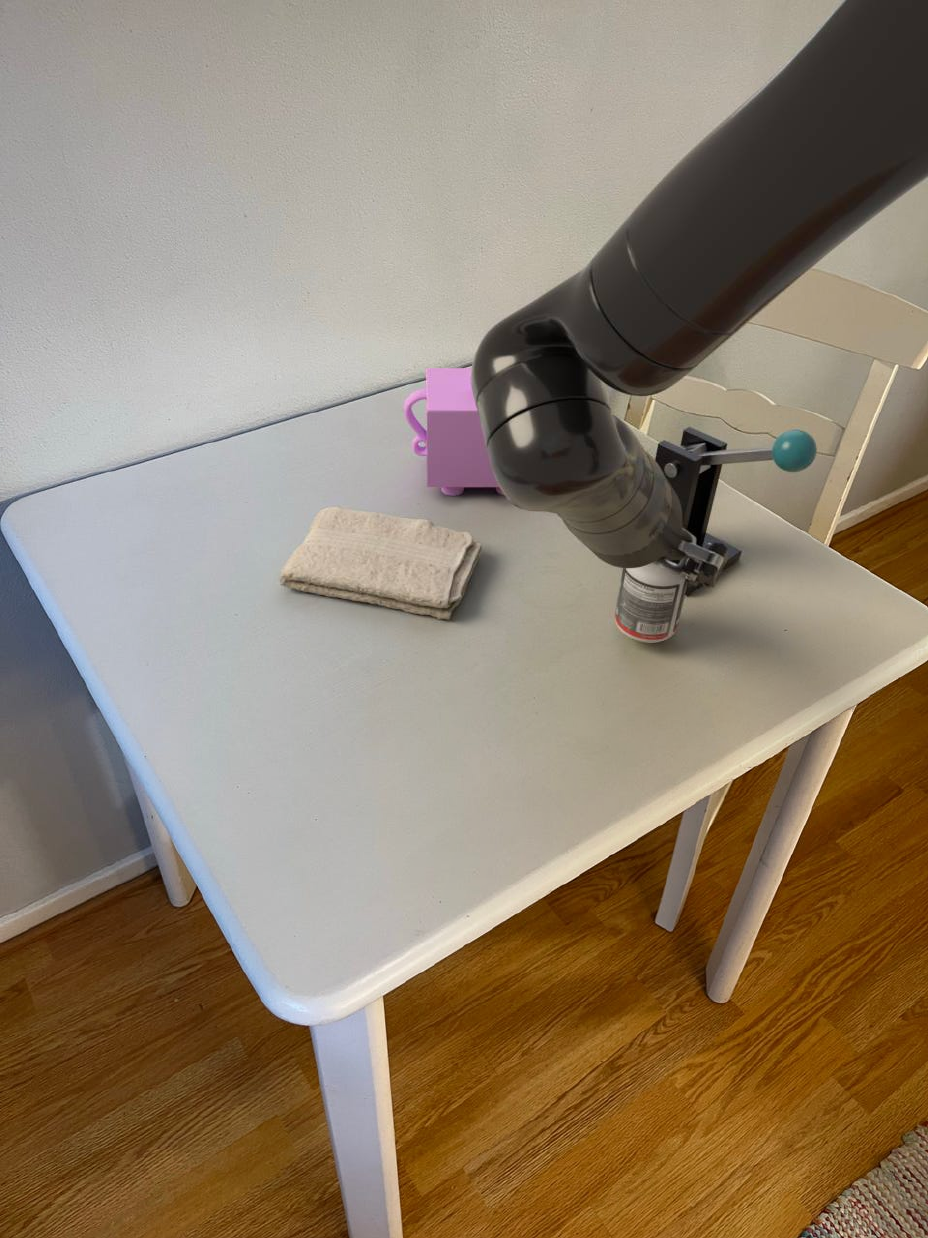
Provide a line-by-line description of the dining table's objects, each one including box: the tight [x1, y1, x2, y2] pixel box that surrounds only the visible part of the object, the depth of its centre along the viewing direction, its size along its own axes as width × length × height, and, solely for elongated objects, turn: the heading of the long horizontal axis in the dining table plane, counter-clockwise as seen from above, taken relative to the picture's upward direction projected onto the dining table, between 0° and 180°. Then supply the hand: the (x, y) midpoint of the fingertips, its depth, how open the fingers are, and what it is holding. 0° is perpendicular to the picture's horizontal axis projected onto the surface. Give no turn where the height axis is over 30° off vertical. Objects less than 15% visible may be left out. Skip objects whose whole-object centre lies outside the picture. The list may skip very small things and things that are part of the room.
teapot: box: [403, 367, 505, 497], centre depth 99 cm, size 20×10×12 cm, turn 92°
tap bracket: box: [654, 426, 742, 597], centre depth 88 cm, size 11×9×13 cm
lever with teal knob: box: [679, 429, 818, 474], centre depth 81 cm, size 14×4×4 cm, turn 43°
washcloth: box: [278, 506, 483, 620], centre depth 88 cm, size 12×18×3 cm, turn 76°
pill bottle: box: [614, 558, 689, 644], centre depth 79 cm, size 6×6×10 cm
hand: (665, 560), depth 79 cm, fingers closed on pill bottle, 5 cm apart
